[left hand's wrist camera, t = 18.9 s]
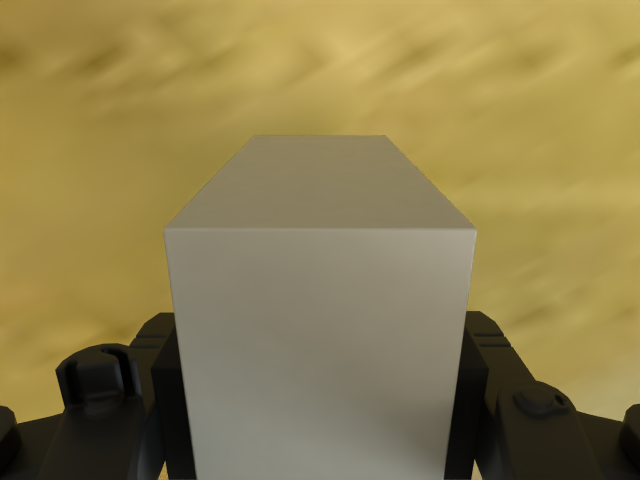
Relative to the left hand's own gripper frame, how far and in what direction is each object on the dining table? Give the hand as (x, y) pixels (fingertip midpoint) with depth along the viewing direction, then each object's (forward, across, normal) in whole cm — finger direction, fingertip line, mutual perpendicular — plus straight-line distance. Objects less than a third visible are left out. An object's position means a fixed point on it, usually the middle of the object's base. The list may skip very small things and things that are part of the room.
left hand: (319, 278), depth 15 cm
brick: (+3, 0, 0) cm, 3 cm away
